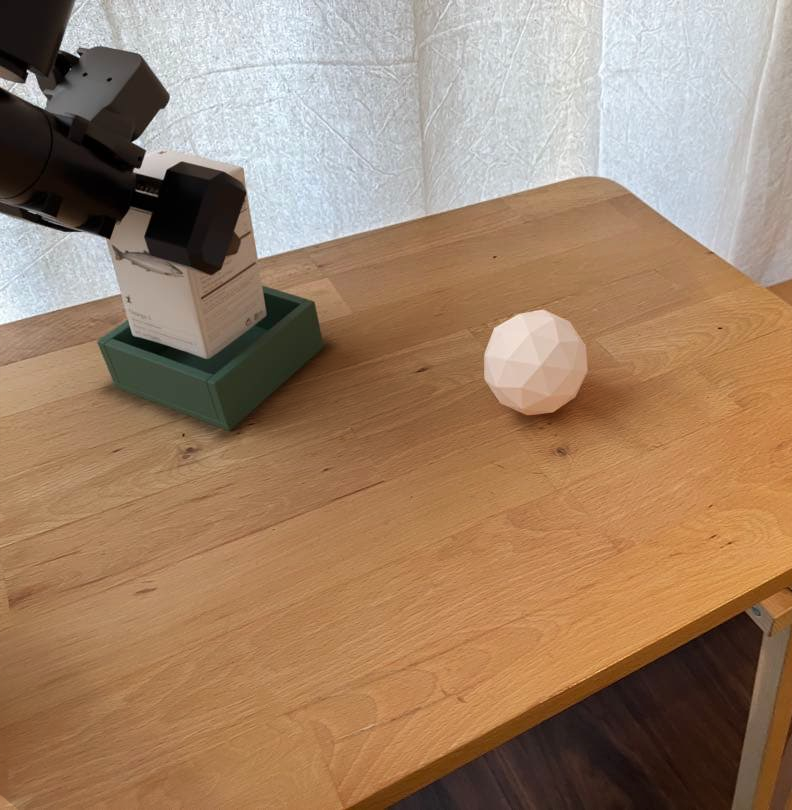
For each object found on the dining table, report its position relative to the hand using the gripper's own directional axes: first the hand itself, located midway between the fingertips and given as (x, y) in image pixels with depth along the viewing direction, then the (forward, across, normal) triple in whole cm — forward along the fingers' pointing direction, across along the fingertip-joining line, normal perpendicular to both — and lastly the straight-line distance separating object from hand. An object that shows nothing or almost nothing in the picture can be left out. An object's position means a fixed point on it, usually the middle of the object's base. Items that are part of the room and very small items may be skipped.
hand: (196, 235), depth 65 cm
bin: (+7, 0, +9) cm, 12 cm away
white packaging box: (+4, 0, +6) cm, 7 cm away
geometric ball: (+12, -25, +4) cm, 28 cm away
